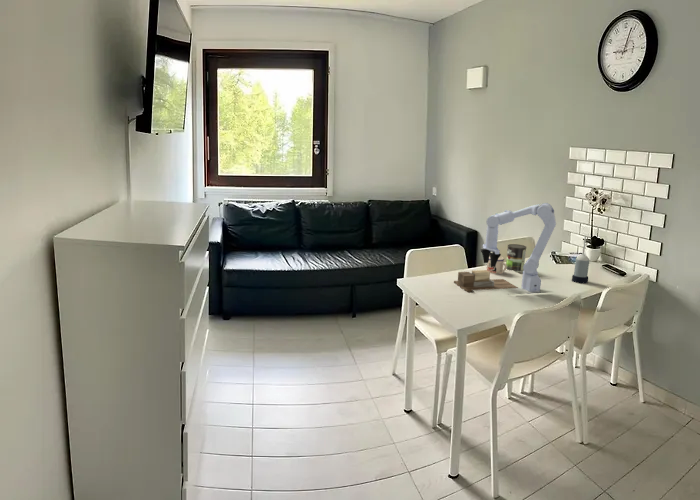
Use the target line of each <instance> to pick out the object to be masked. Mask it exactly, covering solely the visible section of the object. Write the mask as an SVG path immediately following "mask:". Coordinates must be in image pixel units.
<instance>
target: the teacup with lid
mask: <svg viewBox="0 0 700 500" xmlns="http://www.w3.org/2000/svg"><path fill="white" fill-rule="evenodd" d="M504 261H505V258H504V257H503V256H500V257H499V258H498V260H497V263H496V266H495V267H491V260H490V256H489V261H488V263H486V264H487V265H486V270H487V271H489V272H490V274H494V275H500V274H503V273H504V272H505V271H507V270H506V268H507V266H506V262H504Z"/></svg>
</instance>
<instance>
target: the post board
mask: <svg viewBox="0 0 700 500" xmlns="http://www.w3.org/2000/svg"><path fill="white" fill-rule="evenodd" d="M471 273H472V272H470V271H458V274H457V280H453V284H455V283H456V284H457V285H456V284H455V285H456V286H458V287H459V286H460V287H459V288H461V289H462V290H463V289H464V290H463V291H465V293H474V292H475V291H477V290H483V291H484V290H500V289H501V290H502V289H503V290H504V289H508V290H509V289H519V287H518V286H516V285H514V284H513V283H511V282H509V281H508V280H505V279H504V278H499V279H498V278H497V279H494V278H493V279H489V281H483V282H474V275H473V274H471ZM474 290H475V291H474Z"/></svg>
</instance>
